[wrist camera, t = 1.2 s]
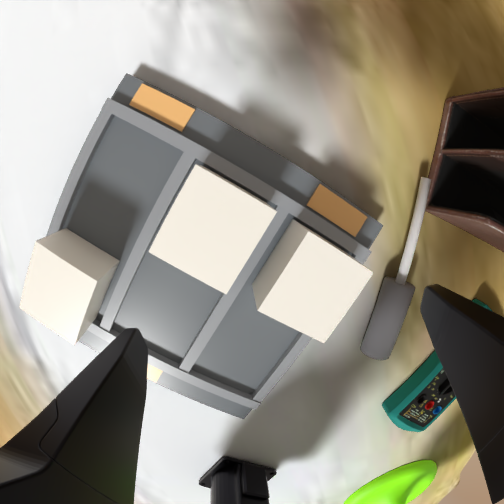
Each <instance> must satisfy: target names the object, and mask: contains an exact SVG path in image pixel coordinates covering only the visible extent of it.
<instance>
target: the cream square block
mask: <svg viewBox="0 0 504 504" xmlns="http://www.w3.org/2000/svg"><path fill="white" fill-rule="evenodd" d="M118 264H119V260H118V259H116V258H114V257H113V256H111V255H109V254H108V253H106V252H104V251H103V250H101V249H99V248H98V247H96V246H94V245H93V244H91V243H89V242H88V241H86V240H85V239H83V238H81V237H80V236H78V235H77V234H75V233H73V232H72V231H70V230H69V229H67V228H65V229H62V230H60V231H58V232H55V233H53V234H51V235H48V236H46V237H44V238H42V239H39V240H37V241H36V242H35V245H34V249H33V252H32V256H31V259H30V263H29V267H28V271H27V275H26V279H25V283H24V288H23V292H22V297H21V302H20V307H19V308H21V309H22V310H23V311H25V312H26V313H27V314H29V315H30V316H31V317H33V318H34V319H36V320H37V321H38V322H40V323H41V324H43V325H44V326H46V327H47V328H49V329H50V330H52V331H53V332H55V333H56V334H58V335H59V336H61V337H62V338H64V339H65V340H67V341H69V342H70V343H72V344H73V345H75V344H76V343H77V342H78V340H79V339H80V338H81V336H82V335H83V334H84V333H85V331H86V330H87V329H88V327H89V326H90V325H91V324H92V322H93V321H94V320H95V319H96V317H97V314H98V312H99V309H100V307H101V304H102V302H103V299H104V297H105V294H106V292H107V289H108V287H109V285H110V282H111V280H112V277H113V275H114V273H115V270H116V268H117V266H118Z"/></svg>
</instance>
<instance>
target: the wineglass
mask: <svg viewBox="0 0 504 504" xmlns="http://www.w3.org/2000/svg"><path fill="white" fill-rule="evenodd" d="M436 472H437V466H436V463H435V462H433V461H432V460H421V461H416V462H412V463H409V464H406V465H403V466H401V467H398V468H396V469H394V470H391V471H389V472H387V473H385V474H383V475H381V476H379V477H377V478H375V479H374V480H372V481H370V482H369V483H367V484H366V485H364V486H362V487H361V488H360V489H358V490H357V491H356V492H354V493H353V494H352V495H351V496H350V497H349V498H348V499H347V500H346V501H345V502H344V504H407V503H409V502H410V501H412V500H413V499H415V498H416V497H417V496H418V495H420V494H421V493H422V492H423V491H424V490H425V489H426V488H427V487H428V486H429V485H430V484H431V482H432V481H433V479H434V478H435V475H436Z"/></svg>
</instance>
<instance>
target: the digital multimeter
mask: <svg viewBox="0 0 504 504" xmlns="http://www.w3.org/2000/svg"><path fill="white" fill-rule="evenodd" d="M473 302H475V303H477V304H479V305H481V306H483V307H485V308H486V309H488V310H490V311H492V310H491V309H490V308H489V307H488V306H487V305H486V304H484V303H483V302H481V301H479V300H478V299H474V300H473ZM492 312H493V311H492ZM455 399H456V396H455V393H454V391H453V389H452V386H451V384H450V382H449V380H448V377H447V375H446V373H445V371H444V369H443V366H442V364H441V362H440V360H439V358H438V356H437V353H436V351H434V352H433V353H432V354H431V355H430V357H429V358H428V359H427V360H426V361H425V362H424V363H423V364H422V365H421V366H420V367H419V368H418V369H417V371H416V372H415V373H414V374H413V375H412V376H411V377H410V378H409V379H408V380H407V381H406V382H405V383H404V384H403V385H402V386H401V387H400V388H398V389H397V390H396V391H395V392H394V393H393V394H392V395H391V396H390V397H389V398H387V399H386V400H385V401H384V402H383V404H382V407H383V408H384V410H385V412H386V413H387V415H388V416H389V418H390V419H391V420H392V422H393V423H394V424H395V425H396V426H397V427H399V428H401V429H403V430H407V431H414V432H421V431H424V430H425V429H426V428H427V427H428V426H429V425H431V424H432V423H433V422H434V421H435V420H436V419H437V418H438V417H439V416H440V415H441V414H442V413H443V412H444V410H445V409H446V408H447V407H448V406H449V405H450V404H451V403H452V402H453V401H454V400H455Z"/></svg>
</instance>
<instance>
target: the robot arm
mask: <svg viewBox="0 0 504 504" xmlns="http://www.w3.org/2000/svg"><path fill="white" fill-rule="evenodd" d="M420 309H421V314H422V317H423V319H424V322H425V325H426V327H427V330H428V332H429V335H430V338H431V341H432V343H433V346H434V349H435V351H436V353H437V356H438V358H439V360H440V362H441V364H442V366H443V369H444V371H445V373H446V375H447V377H448V380H449V382H450V384H451V386H452V389H453V391H454V393H455V396H456V398H457V401H458V403H459V406H460V408H461V410H462V413H463V416H464V418H465V421H466V423H467V426H468V429H469V431H470V434H471V437H472V440H473V442H474V445H475V448H476V451H477V453H478V457H479V460H480V464H481V466H482V470H483V473H484V476H485V480H486V483H487V487H488V490H489V494H490V498H491V501H492V504H495V503H497V502H499V501H500V500H502V499H504V317H502V316H500V315H498V314H496V313H494V312H492V311H490V310H488V309H486V308H485V307H483V306H481V305H479V304H477V303H475V302H473V301H471V300H469V299H467V298H465V297H463V296H461V295H459V294H457V293H454V292H452V291H450V290H448V289H446V288H444V287H442V286H440V285H438V284H434V285H429V286H427V287H426V288H425V290H424V294H423V298H422V302H421V308H420ZM147 368H148V347H147V345H146V343H145V340H144V338H143V336H142V334H141V332H140V330H139V329H138V328H126V329H124V330H123V331H122V332H121V333H120V334H119V335H118V336H117V337H116V338H115V339H114V340H113V341H112V342H111V343H110V344H109V345H108V346H107V347H106V348H105V349H104V350H103V351H102V352H101V353H100V354H99V355H98V356H97V357H96V358H95V359H94V360H93V361H92V362H91V363H90V364H89V365H88V366H87V367H86V368H85V369H84V370H83V371H82V372H81V373H80V374H79V375H78V376H77V377H76V378H75V379H74V380H73V381H72V382H71V383H70V384H69V385H68V386H67V387H66V388H65V389H64V390H63V391H62V392H61V393H60V394H59V395H58V396H57V397H56V399H54V400H53V401H52V402H51V403H50V404H49V405H48V406H47V407H46V408H45V409H44V410H43V411H42V412H41V413H40V414H39V415H38V416H37V417H35V418H34V419H33V420H32V421H31V422H30V423H29V424H28V425H27V426H25V427H24V428H23V429H22V430H21V431H20V432H19V433H17V434H16V435H15V436H14V437H13V438H12V439H11V440H9V441H8V442H7V443H6V444H5V445H4V446H2V447H1V448H0V504H134V492H135V481H136V471H137V461H138V452H139V444H140V436H141V428H142V421H143V414H144V407H145V400H146V390H147ZM276 474H277V473H276V469H273V468H268V467H264V466H260V465H256V464H252V463H248V462H245V461H241V460H237V459H234V458H231V457H223V458H222V459H221V460H220V461H219V462H218V463H217V464H216V465H215V466H214V467H213V468H212V469H211V470H210V471H209V472H207V473H206V474H205V475H204V476H203V477H202V478H201V479H200V480H199V485H201V486H204V487H208V488H211V504H269V490H268V483H267V481H269V480H270V479H271V478H272V477H273V476H275V475H276Z"/></svg>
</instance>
